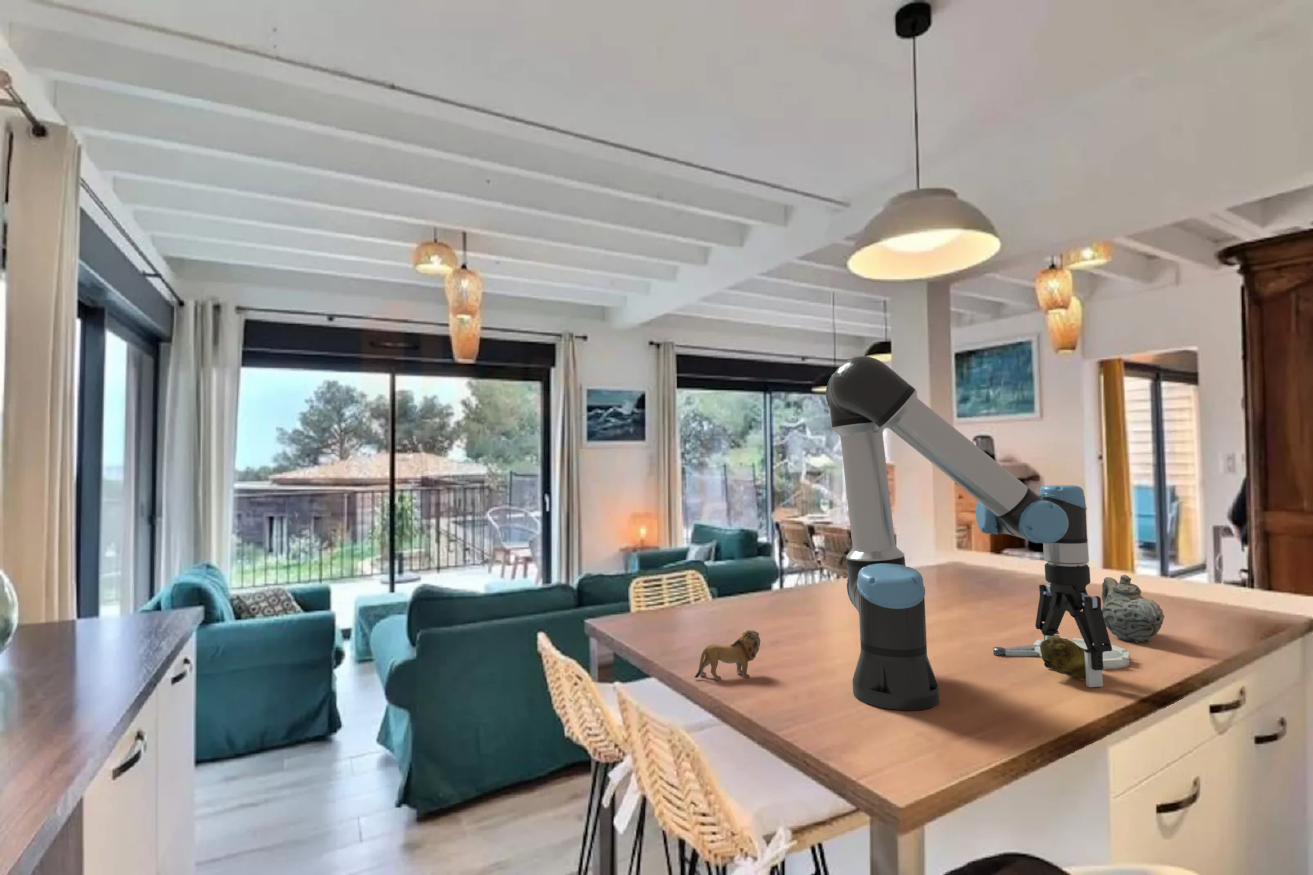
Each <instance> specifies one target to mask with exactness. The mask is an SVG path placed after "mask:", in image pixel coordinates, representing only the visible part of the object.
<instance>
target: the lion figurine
mask: <svg viewBox="0 0 1313 875" xmlns="http://www.w3.org/2000/svg"><path fill="white" fill-rule="evenodd" d="M759 635H760V633H759V632H758V631H756V630H754V629H746V630H745V631H743V632H742V636H740V637H739V638H738V639H736V641H735V642H734V643H732V644H730V645H721V644H718V643H712V644H709V645H707V646H705V648H704V649H703V651H702V653H701V656H700V660H699V665H698V671H697V672H696V673H695V675H694V678H695V679H696V678H699V677H700V676H701V677H706V676H707V673H706V672H705V671H704V670H705V668H706V667H708V666H709V665H710V673H711V676H713V678H714V679H715V680H716V681H721V680H722V677H721V676H720V675H718V674H717V668H718V664H719V661H720V662H722V663H725V664H735V665H736V673H737V675H742V676H743V678H746V679H749V678H750V674H748V672H747V671H748V665H749V663H748V662H750V661H753V660H754V659H755V658H756V656H757V654H758V652H759V650H760V647H761V645H760V644H761V639H760V636H759Z"/></svg>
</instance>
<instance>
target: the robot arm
mask: <svg viewBox="0 0 1313 875" xmlns="http://www.w3.org/2000/svg"><path fill="white" fill-rule="evenodd" d="M825 399H826V403H827V406H828V407H829V414H830V421H831V430H832V431H834V432H835V433H836V434H837V435H838V436H839V438H840V445H841V455H842V463H843V464H842V465H843V473H844V481H845V483H844V484H845V491H846V500H847V507H848V508H847V509H848V518H849V526H850V527H849V528H850V536H851V544H852V547H851V549H850V551H849V552H848V554H847V555H846V557H845V558H846V568H847V580H846V581H847V582H846V592H847V596H848V598H849V601H850V603H851V604H852V605H853V607H854V608H855V610H856V611H857V612H858V615H859V616H858V617H859V618H858V619H859V636H860V637H859V640H860V651H859V652H860V654H859V656H858V659H857V663H856V666H855V669H854V674H853V677H852V693H853V695H854V697H856V698H857V699H859V701H861V702H864V703H866V704H869V705H872V706H874V707H879V708H884V709H889V710H890V709H891V710H896V711H897V710H898V711H899V710H900V711H918V710H919V711H920V710H924V709H929V708H932V707H934V706H936V705H938V704H939V703H940V700H941V699H940V698H941V697H940V686H939V684H938V681H937V677H936V675H935V673H934V670H933V667H932V665H931V663H930V659H929V657H928V650H927V648H928V647H927V646H928V645H927V625H926V624H927V623H926V620H927V619H926V602H925V601H926V600H925V596H926V589H925V588H926V587H925V586H924V578H923V576H922V574H921V573H920V572H919V571H918V570H917V569H915V568H913V567H910V566H906V558H905V553H904V552H903V551H902V550H901V549H900V548H898V547H897V545H896V539H895V538H896V537H895V531H894V529H895V528H894V522H893V520H894V519H893V515H892V514H893V512H892V505H891V504H892V503H891V495H890V494H891V493H890V487H889V478H888V471H887V470H888V467H887V462H886V461H887V458H886V451H885V444H884V443H885V442H884V434H883V432H884V431H885V429H889V430H890V431H892V432H893V433H895V434H896V435H897V436H898V437H900V438H901V440H903V441H904V442H906V443H907V445H909V446H910V447H912V448H913V449H914V450H915V451H917V452H918V453H919V454H920V455H921V456H923V457H924V459H926V460H928V461H929V462H930V463H931V464H932V465H934V466H935V467H936V468H937V469H939V470H940V471H941V472H942V473H943V474H945V475H946V476H947V477H948V478H950V479H951V480H952V481H953V482H955V483H956V484H957V485H958V486H959V487H960V488H961V489H963V490H964V491H965V492H967V493H968V494H969V495H970V496H972V497H973V498H975V499H976V500H977V502H976V505H975V520H976V525H977V527H978V529H979V531H980V532H982V533H983V534H985V535H996V536H997V535H1010V536H1014V537H1015V538H1016V537H1017V538H1020V539H1024V540H1027V541H1028V542H1031V543H1034V544H1043V546H1042V547H1043V548H1042V550H1043V560H1044V561H1046V563H1045V564H1044V576H1045V578H1044V579H1045V582H1047V584H1039V585H1038V589H1039V599H1038V605H1037V611H1036V612H1037V613H1036V619H1035V629H1036V630H1040V631H1041V634H1042V635H1043V638H1044V640H1047V639H1049V638H1054V637H1058V638H1060V635H1059V634H1060V632H1059V627H1060V625H1061V623H1062V621H1063V617H1064V615H1065V613H1066V612H1068V613H1069V615H1070V617H1072V618H1073V619H1074V621H1075V623H1076V625H1077V627H1078V630H1079V632H1080V635H1081V637H1082V639H1084V642H1085V644H1086V646H1087V649H1086V650H1084V654H1085V670H1086V679H1085V681H1086V682H1085V683H1086V684H1085V685H1086V687H1088V688H1097V687H1104V680H1103V670H1104V669H1103V652H1106V651H1112V646H1111V644H1112V643H1111V640H1110V636H1109V632H1108V628H1107V627H1106V625H1105V621H1104V617H1103V614H1102V597H1100V596H1099V595H1098V596H1097V595H1096V596H1095V595H1094V596H1092V595H1089V594H1088V592H1087V586H1088V585H1089V584H1090V583H1091V572H1090V571H1091V570H1090V569H1091V568H1090V566H1089V565H1088V564H1087V563H1089V561H1090V559H1089V558H1090V557H1089V545H1088V542H1089V540H1088V530H1087V529H1088V527H1087V509H1088V508H1087V504H1086V496H1085V492H1084V489H1083V488H1082V487H1081V486H1079V485H1076V484H1073V485H1072V484H1068V485H1067V484H1063V485H1062V484H1061V485H1059V484H1056V485H1055V484H1054V485H1053V484H1052V485H1042V486H1040V488H1039V494H1037V493H1036V492H1035V491H1033V490H1032V489H1031V488H1029V487H1028V486H1027V485H1026V484H1025V483H1023V482H1022V481H1021V480H1019V478H1017V477H1016V476H1015V475H1013V474H1012V473H1011V472H1010V471H1009V470H1007V469H1006V468H1005V467H1003V466H1002V465H1001V464H1000V463H998V462H997V461H996V460H995V459H994V458H993V457H991V456H990V455H989V454H987V453H986V452H985V451H983V449H981V448H980V447H979V446H977V445H976V444H975V443H974V442H973V441H971V440H970V439H968V438H967V436H965V435H964V434H963V433H961V432H960V431H959V430H957V429H956V428H955V427H954V426H953V425H951V423H949V422H948V421H946V419H944V418H943V417H941V416H940V415H939V414H938V413H937V412H936V411H934V410H933V409H931V408H930V407H929V406H928V405H927V404H925V403H924V402H923V401H922V400H920V399H919V398H918V391H917V389H916V388H914V386H912V385H911V384H909V383H908V382H907V381H906V380H905V379H903V378H902V377H901V376H900V375H899V374H898V373H896V372H895V370H893V369H892V368H891V367H890V366H889V365H887V364H885V363H884V362H882V361H881V360H879V359H878V358H874V357H871V356H866V355H864V356H854V357H852V358H849V359H847V360H845V361H844V362H843V363H842V364H841V363H840V365H839V366H838V367H837V369H836V370H835V372H834V373H833V374H831V376H830V378H829V380H828V382H827V385H826V389H825ZM1048 583H1049V584H1048ZM1093 643H1094V645H1093ZM1103 644H1104V645H1103ZM1047 669H1049V670H1050V669H1051V670H1053V669H1052V668H1047Z"/></svg>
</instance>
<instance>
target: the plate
mask: <svg viewBox="0 0 1313 875" xmlns="http://www.w3.org/2000/svg"><path fill="white" fill-rule="evenodd" d="M1060 638H1065V639H1067V637H1063V636H1062V637H1060ZM1042 641H1044V637H1041V639H1036V641H1035V642H1034V643H1032V645H1033V649H1035V651H1037V652H1038V653H1039V656H1038V657H1039V658H1042V656H1041V650H1040V646H1041V643H1042ZM1071 641H1072V642H1074V643H1075V644H1077V645H1078V646H1079V647H1081V648H1084V649H1087V646H1086V644H1085V642H1084V639H1083V638H1078V637H1072V639H1071ZM1093 645H1094V643H1093ZM1103 645H1104V644H1103ZM1111 646H1112V651H1106V652H1103V670H1117V669H1122V668H1126V667H1128V666H1129V665H1130V659H1131V652H1130V651H1127V650H1128V649H1126V648H1123V647H1120V646H1117V645H1114V644H1113V643H1111Z"/></svg>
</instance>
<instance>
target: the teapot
mask: <svg viewBox="0 0 1313 875" xmlns="http://www.w3.org/2000/svg"><path fill="white" fill-rule="evenodd" d="M1131 580H1132V578H1131V577H1130V576H1128V575H1126V574H1122V575H1120V580H1119V582H1118V581H1117V580H1116V579H1115V578H1113V577H1110V576H1108V577H1107V576H1105V578H1104V579H1103V582H1102V583H1101V587H1102V591H1101V601H1102V606H1101V610H1102V614H1103V617H1104V621H1105V625H1106V628H1107V630H1109V631H1110V633H1112V635H1114V636H1116V637H1118V638H1119V639H1121V640H1122V641H1125V642H1135V643H1136V642H1138V643H1149V642H1151V640H1152V639H1153V638H1154V637H1155V636H1156V635H1157V634H1158V633H1159V631H1160V630H1161V628H1162V625H1163V622H1164V619H1165V614H1164V611H1163V609H1162V608H1161V606H1160V604H1158V603H1157V602H1156V601H1154V600H1153V599H1151V598H1150V599H1149V598H1145V597H1143V596H1142V595H1141V593H1142V590H1141V588H1140V587H1139V586H1138V585H1137V584H1134V583H1131Z"/></svg>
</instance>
